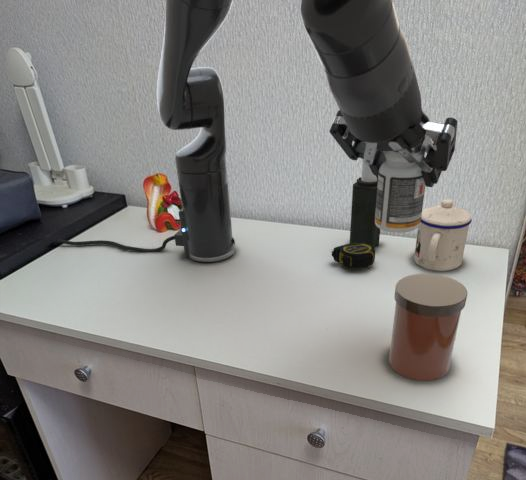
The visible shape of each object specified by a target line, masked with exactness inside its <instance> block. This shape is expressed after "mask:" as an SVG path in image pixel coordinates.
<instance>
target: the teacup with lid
mask: <svg viewBox="0 0 526 480" xmlns="http://www.w3.org/2000/svg"><path fill="white" fill-rule="evenodd" d="M472 221H473V220H472V215H471V213H470V212H469V211H467V210H465V209H463V208H459V207H458V206H456V205H455V204H454V201H453V200H452V199H449V198H446V199H445V198H444V199H442V200H441V202H440V204H437V205H434V206H429V207H426V208H424V209H422V216H421V222H420V225H419V227H418V228H417V232H416V233H417V234H416V241H415V248H414V255H413V260H414V262H415V263H416V265H418V266H419V267H421V268H424V269H427V270H431V271H437V272H439V271H442V272H443V271H452V270H454V269H457V268H459V267H460V266H461V265H462V262H463V258H464V253H465V248H466V243H467V238H468V233H469V228H470V224H471V223H472Z"/></svg>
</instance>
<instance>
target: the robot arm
mask: <svg viewBox="0 0 526 480" xmlns="http://www.w3.org/2000/svg"><path fill="white" fill-rule="evenodd" d="M233 3H234V0H165V13H164V33H163V40H162V47H161V55H160V59H159V60H160V61H159V67H158V73H157V84H156V103H157V110H158V115H159V117H160V120H161V122H162V123H163V125H164V126H165V127H166V128H167V129H169V130H170V131H188V130H193V129H200V130H199V132H198V134H197V136H196V137H195V138H194V139H193V140H192V141H191V142H189V143H188V144H187V145H184V146H183V147H182V148H180V149H179V150H178V151H177V152H176V153H175V157H174V160H175V166H176V175H177V181H178V188H179V194H180V202H181V209H180V210H179V211H178V217H179V224H180V229H179V230H178V231H177V232H176V233H174V235H172V236H169V237H167V238H165V240H163V242H162V245H161V246H159V247H157V248H142V247H137V246H129V245H124V244H121V243H118V242H115V241H112V240H102V239H101V240H99V239H98V240H85V241H83V240H82V241H71V240H66V239H62V238H61V239H60V238H57V239H58V240H57V242H50V241H49V242H48V243H47V244H46V247H52V245H54V244H56V243H58V244H64V245H70V246H87V245H88V246H90V245H109V246H113V247H117V248H119V249H122V250H126V251H134V252H140V253H159V252H161V251H163V250H165V248H166V247H167V244H168V243H169V242H171V241H175V246H177V247H183V250H184V258H189V259H191V260H193V261H195V262H199V263H215V262H220V261H225V260H226V259H228V258H230V257H232V256H233V255H234V254H235V246H236V242H235V238H234V237H233V228H232V218H231V217H232V216H231V203H230V202H231V201H230V191H229V181H228V170H227V169H228V168H227V157H226V156H227V137H226V115H225V114H226V113H225V111H226V109H225V107H226V106H225V96H224V95H225V94H224V87H223V84H222V83H223V82H222V80H221V77H220V75H219V73H218V72H217V70H216V69H215V68H213V67H211V66H200V67H192V66H193V65H194V62H195V61H196V59H197V58H198V56H199V54H200V53H201V52H202V51H203V49H204V48H205V47H206V46H207V44H208V43H209V42H210V41H211V39H213V37H214V36H215V35H216V33H217V32H218V31H219V29H220V28H221V27H222V25H223V24H224V22H225V21H226V19H227V18H228V15H229V13H230V11H231V9H232V6H233ZM300 18H301V21H302V25H303V29H304V30H305V32H306V35H307V37H308V39H309V41H310V43H311V45H312V47H313V49H314V52H315V53H316V56H317V58H318V60H319V62H320V64H321V66H322V70H323V72H324V73H323V74H324V77H325V80H326V84H327V86H328V89H329V90H330V93H331V94H332V96H333V98H334V99H333V100H334V101H335V103H336V105H337V107H338V109H339V110H338V111H337V112H336V114H335V116H334V118H333V120H332V123H331V126H330V129H329V132H328V133H329V134H330V135H331V136H332V137H333V139H334V140H335V141H336V143H337V144H338V146H339V147H340V148H341V149H342V150H343V152H344V153H345V155H346V156H347V157H348V158H349V159H350V160H352V161H358V160H359V159H362V161H363V162H364V163H365V164H367V165H369V167H370V169H371V171H372V173H373V174H374V175H375V176H376V177H377V179H378V175H379V168H380V166H381V165H382V164H383V163H384V162H385V161H386V157H385V155H384V151H394V152H398V153H400V154H401V155H402V156H403V157H404V158H405V159H406V160H407V161H408V162H409V163H416V164H417V165H418V166H419V167H420V168H421V169H422V170H421V172H422V176H423V179H424V182H425V188H426V187H427V188H433V187H434V185H437V184H438V182H439V180H440V177H441V176H442V175H441V174H442V172H446V171H448V168H449V165H450V164H451V160H452V158H453V156H454V153H455V151H456V142H457V131H458V120H457V119H456V118H454V117H447V118H445V120H444V122H443V123H439V122H438V123H437V122H434V121H433V122H432V121H430V118H429V117H428V115H427V114H425V112H424V111H423V106H422V94H421V90H420V87H419V81H418V78H417V74H416V70H415V67H414V62H413V59H412V55H411V51H410V47H409V44H408V40H407V38H406V36H405V33H404V31H403V29H402V27H401V25H400V21H399V19H398V13H397V10H396V7H395V3H394V0H301V2H300ZM365 142H366V143H365ZM412 149H413V150H412ZM425 151H426V153H425ZM424 153H425V156H424Z"/></svg>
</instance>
